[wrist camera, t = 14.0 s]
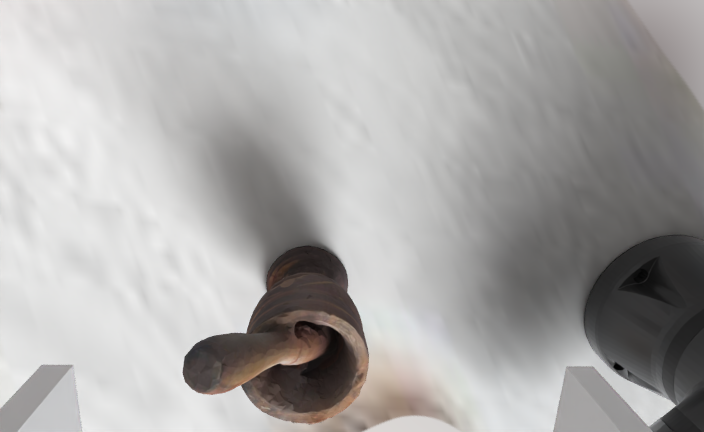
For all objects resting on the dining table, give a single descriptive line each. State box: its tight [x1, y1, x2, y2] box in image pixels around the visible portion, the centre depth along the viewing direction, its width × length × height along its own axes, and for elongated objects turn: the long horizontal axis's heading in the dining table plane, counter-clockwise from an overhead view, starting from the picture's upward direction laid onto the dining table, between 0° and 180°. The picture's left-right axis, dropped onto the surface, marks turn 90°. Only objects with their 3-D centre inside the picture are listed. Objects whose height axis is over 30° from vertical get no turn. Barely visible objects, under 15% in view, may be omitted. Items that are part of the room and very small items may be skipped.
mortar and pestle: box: [183, 246, 369, 425], centre depth 34 cm, size 12×9×20 cm
